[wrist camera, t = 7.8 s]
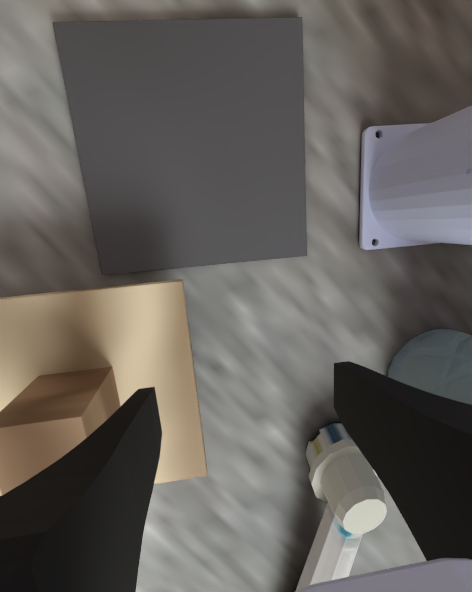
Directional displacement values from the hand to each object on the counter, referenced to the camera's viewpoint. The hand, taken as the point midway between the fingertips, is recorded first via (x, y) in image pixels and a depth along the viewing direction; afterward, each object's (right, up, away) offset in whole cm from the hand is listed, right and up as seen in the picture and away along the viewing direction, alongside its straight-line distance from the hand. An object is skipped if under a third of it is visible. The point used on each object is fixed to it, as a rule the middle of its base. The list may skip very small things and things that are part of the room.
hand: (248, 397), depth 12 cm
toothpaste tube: (+7, -19, +17) cm, 26 cm away
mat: (-3, +13, +7) cm, 15 cm away
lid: (-9, -2, +6) cm, 11 cm away
